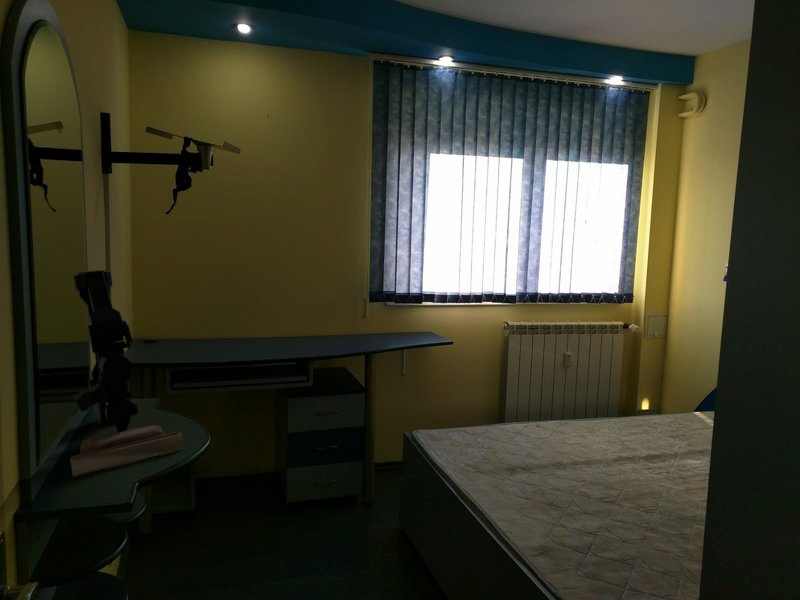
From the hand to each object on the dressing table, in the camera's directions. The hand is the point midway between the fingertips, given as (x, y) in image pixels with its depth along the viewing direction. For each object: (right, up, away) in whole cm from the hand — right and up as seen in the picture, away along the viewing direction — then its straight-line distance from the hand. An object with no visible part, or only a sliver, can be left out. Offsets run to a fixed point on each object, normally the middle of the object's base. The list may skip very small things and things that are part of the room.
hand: (121, 436), depth 136 cm
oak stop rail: (+6, -3, -9) cm, 12 cm away
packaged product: (+3, -3, -4) cm, 6 cm away
